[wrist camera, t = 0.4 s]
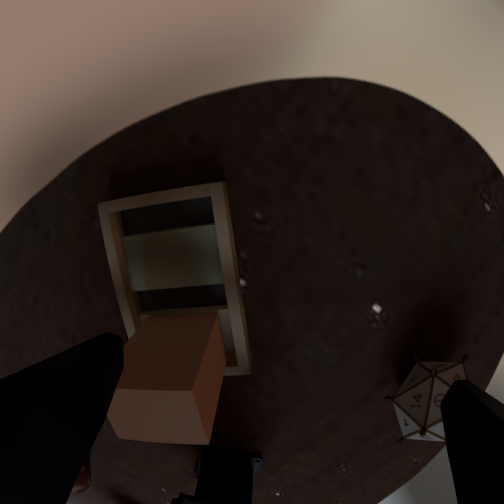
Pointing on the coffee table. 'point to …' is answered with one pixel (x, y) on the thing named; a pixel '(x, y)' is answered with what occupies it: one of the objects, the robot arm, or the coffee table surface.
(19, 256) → the coffee table surface
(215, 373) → the terracotta block
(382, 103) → the coffee table surface
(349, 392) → the coffee table surface
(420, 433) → the game die
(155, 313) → the box
